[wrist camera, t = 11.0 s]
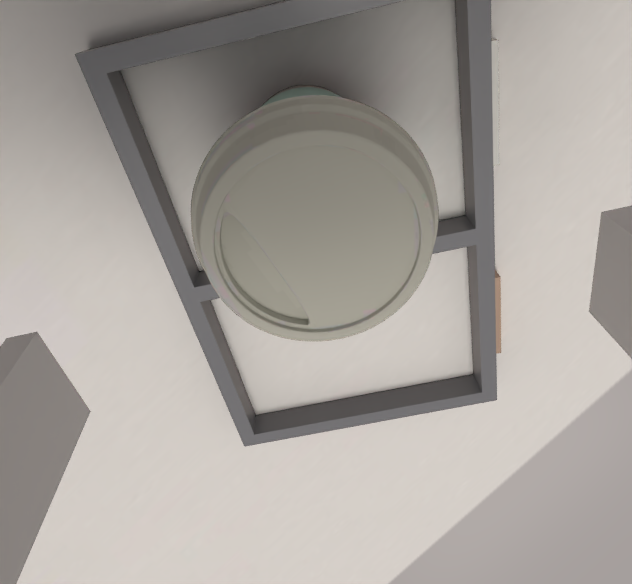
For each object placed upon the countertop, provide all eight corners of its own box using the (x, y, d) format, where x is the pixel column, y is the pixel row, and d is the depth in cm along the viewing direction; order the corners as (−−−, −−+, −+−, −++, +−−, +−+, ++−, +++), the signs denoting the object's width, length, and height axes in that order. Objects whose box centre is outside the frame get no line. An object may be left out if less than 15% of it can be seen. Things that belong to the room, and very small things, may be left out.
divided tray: (89, 49, 23) (74, 54, 21) (489, -50, 22) (504, -53, 20) (246, 427, 37) (244, 446, 35) (496, 380, 35) (505, 398, 34)
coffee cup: (218, 50, 23) (164, 104, 13) (396, 57, 24) (479, 113, 14) (228, 218, 28) (194, 354, 18) (378, 221, 28) (429, 354, 18)
